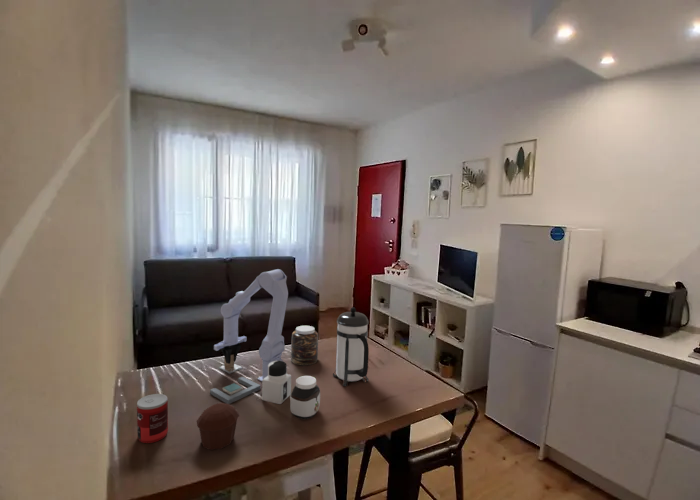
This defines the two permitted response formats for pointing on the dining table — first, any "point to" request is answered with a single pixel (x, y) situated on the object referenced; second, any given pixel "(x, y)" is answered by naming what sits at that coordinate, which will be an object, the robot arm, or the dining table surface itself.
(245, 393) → the tile frame
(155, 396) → the canned food
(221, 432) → the muffin
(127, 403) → the dining table surface
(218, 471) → the dining table surface
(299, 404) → the spread jar
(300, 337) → the jar
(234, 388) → the tile
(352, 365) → the coffee press
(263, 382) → the container
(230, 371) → the trowel
